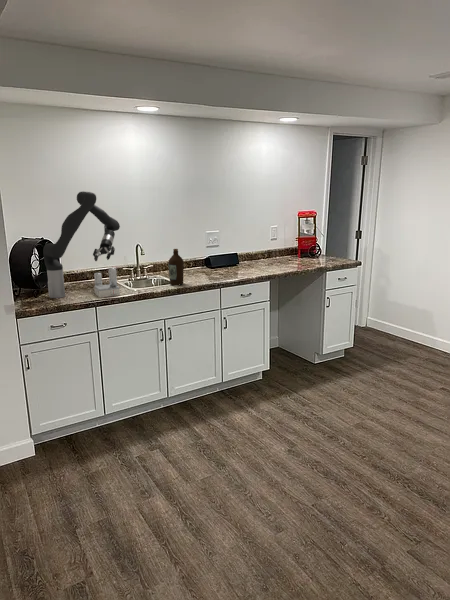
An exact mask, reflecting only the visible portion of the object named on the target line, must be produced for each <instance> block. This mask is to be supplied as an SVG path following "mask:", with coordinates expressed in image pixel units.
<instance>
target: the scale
mask: <svg viewBox="0 0 450 600" xmlns="http://www.w3.org/2000/svg"><path fill="white" fill-rule="evenodd" d="M93 287H94V288H93V289H94V294H95V295H96V296H97V297H98V298H104V297H116V296H120V295H121V292H120V291H121V290H120V286H118V285H117V287H115V288H111V287H110V283H109V284H102V285H98V286H95V285H94V286H93Z"/></svg>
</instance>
